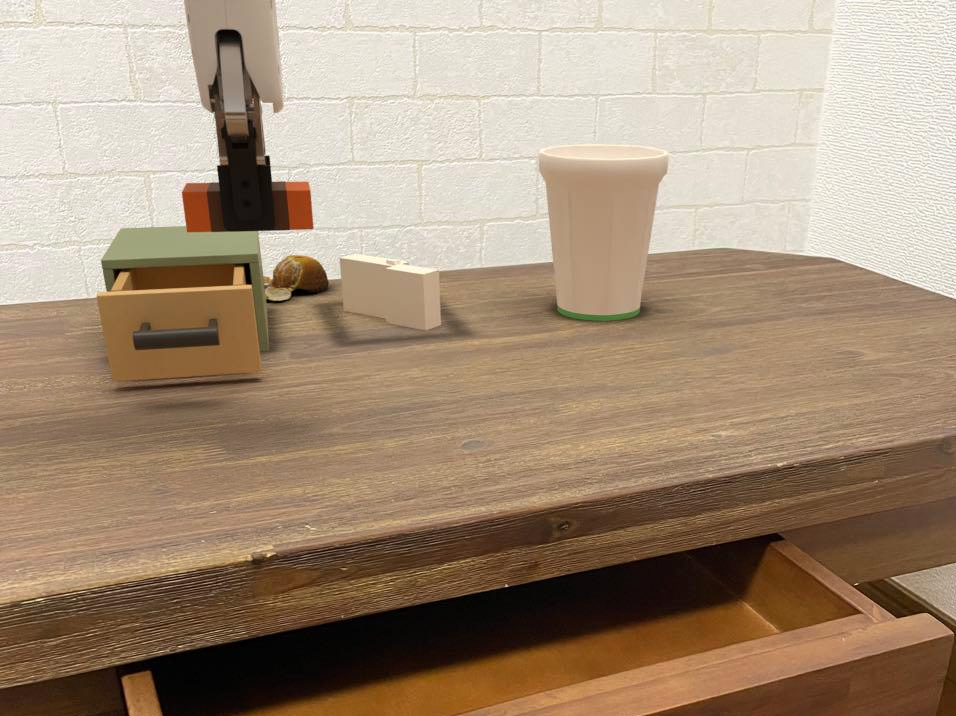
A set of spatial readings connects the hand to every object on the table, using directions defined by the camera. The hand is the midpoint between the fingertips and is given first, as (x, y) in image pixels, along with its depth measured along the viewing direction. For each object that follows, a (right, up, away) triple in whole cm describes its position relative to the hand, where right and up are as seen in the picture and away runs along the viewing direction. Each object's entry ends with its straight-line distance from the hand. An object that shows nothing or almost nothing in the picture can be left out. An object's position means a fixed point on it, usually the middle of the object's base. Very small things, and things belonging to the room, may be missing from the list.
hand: (250, 220), depth 69 cm
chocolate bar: (0, 0, 0) cm, 0 cm away
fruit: (-8, +5, +43) cm, 44 cm away
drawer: (-10, -6, +17) cm, 21 cm away
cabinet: (-13, -2, +28) cm, 31 cm away
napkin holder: (+5, 0, +33) cm, 33 cm away
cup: (+25, +2, +36) cm, 44 cm away
